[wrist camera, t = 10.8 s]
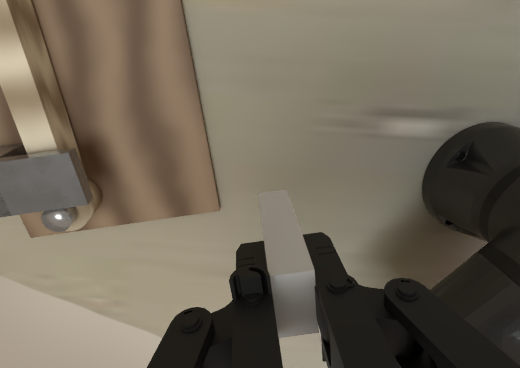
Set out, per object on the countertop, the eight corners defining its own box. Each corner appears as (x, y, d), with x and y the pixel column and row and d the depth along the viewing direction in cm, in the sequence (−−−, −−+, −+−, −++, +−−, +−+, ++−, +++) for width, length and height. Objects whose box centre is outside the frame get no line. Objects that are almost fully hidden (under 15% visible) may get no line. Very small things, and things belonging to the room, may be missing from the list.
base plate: (167, -74, 30) (165, -78, 29) (220, 206, 43) (220, 210, 42) (-98, -45, 29) (-108, -48, 29) (35, 233, 42) (30, 237, 41)
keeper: (95, 132, 36) (68, 152, 30) (110, 177, 39) (87, 204, 32) (-9, 146, 36) (-60, 169, 30) (12, 191, 38) (-30, 221, 32)
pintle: (71, 199, 34) (64, 206, 33) (80, 222, 36) (74, 229, 34) (44, 203, 34) (36, 210, 33) (54, 225, 35) (47, 233, 34)
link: (106, 211, 40) (94, 228, 36) (64, 215, 40) (48, 233, 36) (35, -22, 30) (8, -31, 26) (-22, -19, 30) (-57, -27, 26)
